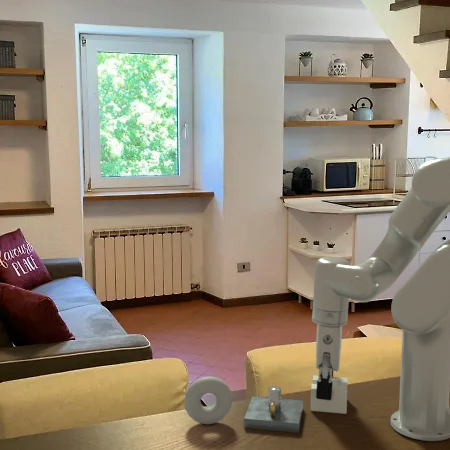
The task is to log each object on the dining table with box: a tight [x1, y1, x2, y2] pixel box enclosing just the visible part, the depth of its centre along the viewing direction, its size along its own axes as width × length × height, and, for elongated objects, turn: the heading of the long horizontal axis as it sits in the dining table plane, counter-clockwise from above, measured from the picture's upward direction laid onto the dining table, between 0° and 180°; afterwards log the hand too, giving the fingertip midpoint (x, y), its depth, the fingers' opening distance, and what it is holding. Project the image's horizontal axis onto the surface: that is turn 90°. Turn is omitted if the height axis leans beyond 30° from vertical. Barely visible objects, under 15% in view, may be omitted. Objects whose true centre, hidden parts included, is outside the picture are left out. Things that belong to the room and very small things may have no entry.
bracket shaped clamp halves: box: [310, 374, 348, 415], centre depth 138 cm, size 8×8×5 cm
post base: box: [243, 385, 304, 434], centre depth 131 cm, size 11×11×6 cm
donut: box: [183, 376, 234, 425], centre depth 129 cm, size 10×4×10 cm, turn 98°
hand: (324, 389), depth 138 cm, fingers open, 9 cm apart
